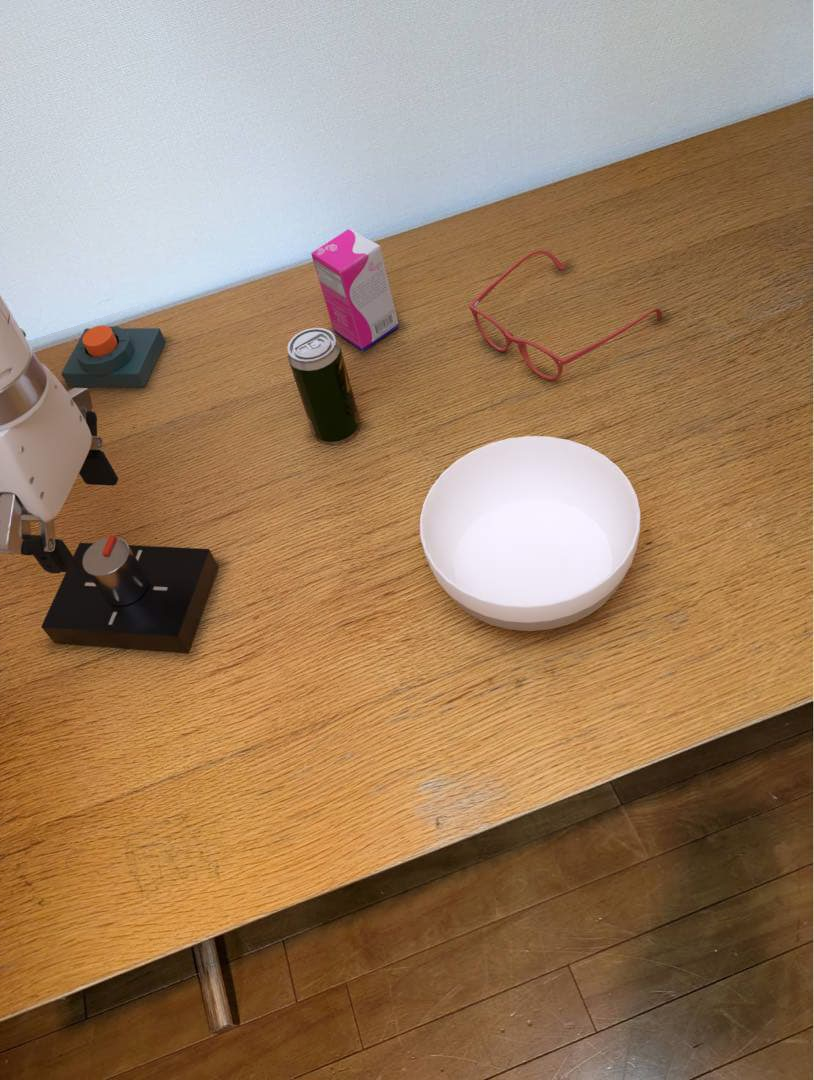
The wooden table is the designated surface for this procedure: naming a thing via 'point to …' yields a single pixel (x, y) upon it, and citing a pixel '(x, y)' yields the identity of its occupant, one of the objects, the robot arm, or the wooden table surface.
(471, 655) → the wooden table surface
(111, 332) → the button
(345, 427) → the beer can
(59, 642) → the knob panel
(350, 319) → the supplement box
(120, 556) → the dark cylinder with disc
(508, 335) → the red eyeglasses
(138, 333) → the button block
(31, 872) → the wooden table surface
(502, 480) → the bowl
